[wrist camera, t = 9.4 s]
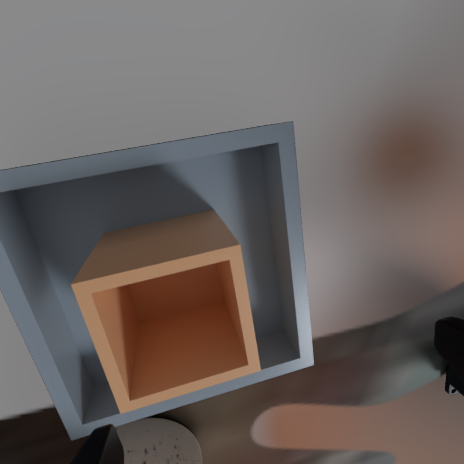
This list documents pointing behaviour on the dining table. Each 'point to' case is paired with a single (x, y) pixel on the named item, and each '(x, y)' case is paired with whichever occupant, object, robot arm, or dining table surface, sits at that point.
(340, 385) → the dining table surface
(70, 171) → the big crate
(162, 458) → the teacup with lid
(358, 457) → the dining table surface
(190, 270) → the small crate
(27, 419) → the dining table surface
